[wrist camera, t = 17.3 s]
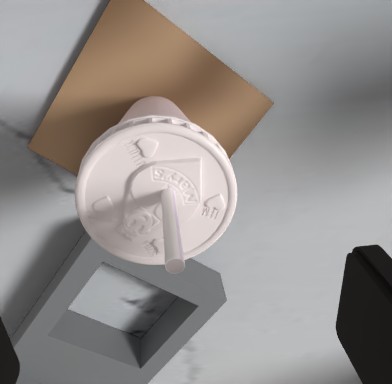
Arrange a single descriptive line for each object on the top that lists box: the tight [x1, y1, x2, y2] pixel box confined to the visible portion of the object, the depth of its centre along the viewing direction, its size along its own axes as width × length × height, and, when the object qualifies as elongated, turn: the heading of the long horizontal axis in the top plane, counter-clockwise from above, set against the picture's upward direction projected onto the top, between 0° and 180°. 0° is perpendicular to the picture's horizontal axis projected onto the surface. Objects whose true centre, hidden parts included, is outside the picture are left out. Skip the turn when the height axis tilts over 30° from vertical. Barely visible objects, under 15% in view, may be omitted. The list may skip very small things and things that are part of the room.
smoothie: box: [75, 96, 237, 274], centre depth 16 cm, size 6×6×14 cm
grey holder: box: [10, 231, 227, 384], centre depth 29 cm, size 11×23×5 cm, turn 144°
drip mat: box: [27, 0, 274, 175], centre depth 23 cm, size 11×11×1 cm
